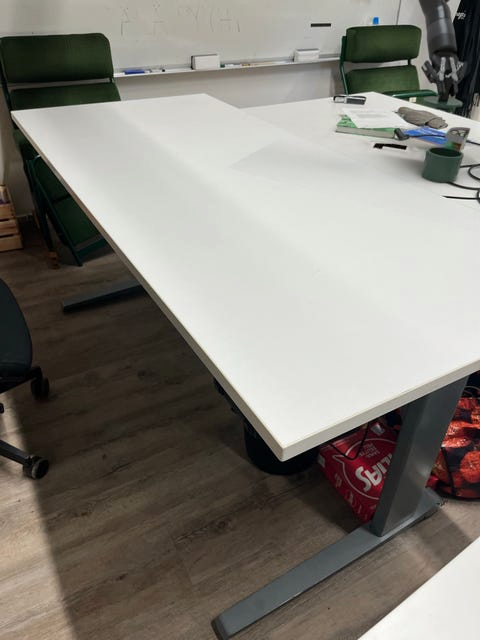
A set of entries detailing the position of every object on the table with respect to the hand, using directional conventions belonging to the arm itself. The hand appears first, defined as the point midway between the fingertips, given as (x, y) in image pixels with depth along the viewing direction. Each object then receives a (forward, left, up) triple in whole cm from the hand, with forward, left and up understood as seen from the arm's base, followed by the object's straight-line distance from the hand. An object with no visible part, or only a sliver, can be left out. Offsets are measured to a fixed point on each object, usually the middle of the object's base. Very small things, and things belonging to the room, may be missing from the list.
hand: (448, 95), depth 138 cm
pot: (-3, +4, -22) cm, 23 cm away
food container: (-5, -12, -22) cm, 26 cm away
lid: (+1, -2, -3) cm, 3 cm away
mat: (+15, -20, -22) cm, 33 cm away
